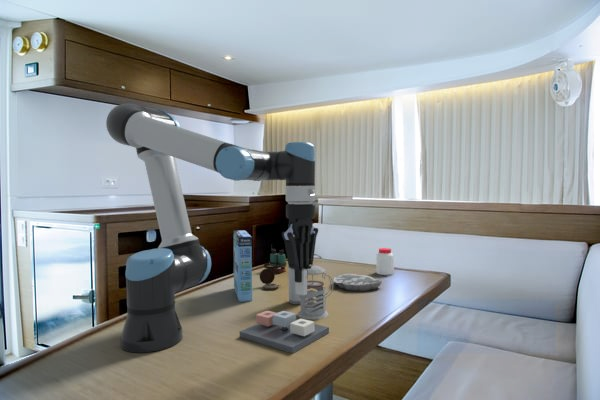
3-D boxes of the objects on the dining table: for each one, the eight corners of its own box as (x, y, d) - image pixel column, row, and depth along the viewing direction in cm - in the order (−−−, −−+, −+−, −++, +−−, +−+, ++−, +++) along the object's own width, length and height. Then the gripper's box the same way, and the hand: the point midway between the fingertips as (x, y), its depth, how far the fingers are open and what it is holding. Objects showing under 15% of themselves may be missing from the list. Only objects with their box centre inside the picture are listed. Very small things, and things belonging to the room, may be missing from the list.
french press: (292, 311, 125) (291, 233, 124) (326, 307, 129) (325, 231, 128) (304, 321, 116) (302, 237, 115) (339, 316, 120) (338, 234, 119)
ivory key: (304, 342, 99) (304, 326, 98) (290, 338, 101) (290, 323, 101) (314, 336, 102) (314, 321, 102) (300, 333, 105) (300, 318, 105)
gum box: (233, 288, 155) (232, 230, 154) (246, 287, 156) (245, 230, 155) (238, 302, 136) (237, 236, 135) (253, 301, 137) (252, 236, 136)
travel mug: (306, 305, 131) (305, 245, 131) (287, 304, 133) (286, 245, 132) (309, 299, 138) (308, 243, 137) (291, 298, 139) (290, 242, 138)
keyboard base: (292, 353, 94) (292, 347, 94) (239, 336, 104) (239, 331, 104) (329, 332, 106) (328, 327, 106) (278, 319, 117) (278, 314, 117)
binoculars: (260, 252, 179) (272, 247, 188) (261, 274, 181) (274, 268, 189) (275, 254, 175) (288, 248, 183) (277, 277, 176) (289, 270, 184)
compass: (265, 291, 149) (264, 272, 149) (259, 286, 157) (259, 268, 156) (284, 289, 152) (284, 270, 152) (278, 284, 160) (278, 266, 159)
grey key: (285, 333, 102) (285, 317, 102) (272, 329, 105) (272, 314, 105) (296, 328, 106) (296, 313, 106) (283, 324, 108) (283, 310, 108)
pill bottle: (373, 272, 180) (373, 248, 179) (388, 270, 182) (388, 247, 181) (381, 275, 172) (381, 250, 172) (397, 274, 175) (397, 249, 174)
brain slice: (322, 286, 156) (322, 279, 156) (350, 279, 168) (350, 272, 168) (360, 296, 142) (360, 288, 142) (388, 287, 153) (388, 280, 153)
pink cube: (268, 332, 106) (268, 317, 106) (256, 329, 108) (256, 314, 108) (279, 327, 109) (279, 313, 109) (267, 324, 112) (267, 310, 112)
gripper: (296, 204, 93) (297, 302, 94) (326, 202, 103) (327, 290, 104) (272, 203, 98) (273, 297, 98) (303, 201, 108) (304, 286, 109)
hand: (301, 293), depth 101 cm, fingers closed
